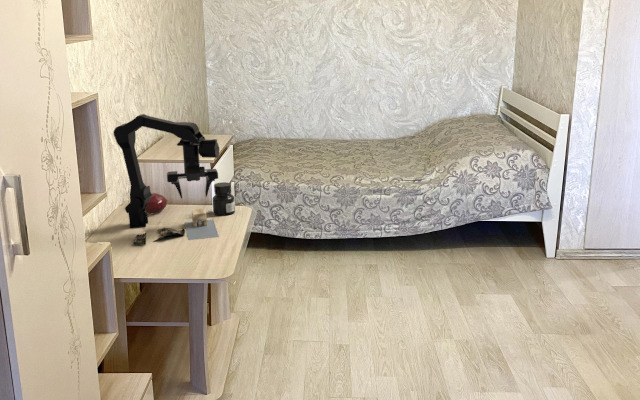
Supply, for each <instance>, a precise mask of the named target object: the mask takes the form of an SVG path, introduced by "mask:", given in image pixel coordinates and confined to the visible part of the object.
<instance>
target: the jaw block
mask: <svg viewBox="0 0 640 400" xmlns="http://www.w3.org/2000/svg"><path fill="white" fill-rule="evenodd" d="M191 218H192V222H193V226H194V227H197V221H199V220H202V221H203V224H204V226H207V220H208V219H207V212H206V208H199V209H198V208H197V209H191Z"/></svg>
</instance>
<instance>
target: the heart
mask: <svg viewBox="0 0 640 400" xmlns="http://www.w3.org/2000/svg"><path fill="white" fill-rule="evenodd" d="M151 194H152V196H151V200H150V202H149V203H148V204H147V207H145V211H146V212H147V214H151V215H157V214H159V213H161V212H162V211H163V210H164V209H165V208H166V207H167V204H168V199H167V198H166V197H165V196H164V195H163V194H160V193H157V192H153V193H151Z"/></svg>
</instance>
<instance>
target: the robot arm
mask: <svg viewBox="0 0 640 400" xmlns="http://www.w3.org/2000/svg"><path fill="white" fill-rule="evenodd" d="M142 128H148V129H153V130H157V131H160V132H164V133H168V134H172V135H174V136H175V137H177V138H179V139H180V141H178V143H177V144H176V146H177V147H179V146H180V147H181V146H182V153H183V154H182V155H183V157H182V158H183V168H184V170H183V171H184V173H183V172H182V173H178V171H177V170H175V171H167V173H166V180H167V183H170V184H171V185H174V186H175V189H177V192H178V194H179V196H180V199H183V193H182V188H181V184H180V183H181V182H180V179H186V181H187V182H193V181H196V182H198V181H200V180H201V178H205V190H204V193H205V197H208V194H209V190H210V187H211V185H212V183H213V182H215V180H218V179H219V173H218V169H217V168H207V169H205V166H200V157H202V158H208V159H209V158H210V159H212V158H214V159H218V158H219V157H220V146H219V143H218V139H217V138H215V139H214V138H213V139H206V138H205V136H204V134H202V132H201V131H200V128H199V126H198V125H197V124H196V123H195V122H191V121H189V122H186V121H182V122H181V121H180V122H179V121H172V120H169V119H168V120H167V119H163V118H159V117H154V116H151V115H147V114H145V113H140V114H139V115H137V116H136V117H134V118H133V119H132V120H130V121H129V122H126V123H123V124H120V125H117V126H116V127H115V128H114V130H113V137H114V139H115V141H116V144H117V145H118V147H120V149H121V151H122V154H123V159H124V162H125V166H126V167H125V168H126V171H127V177H128V178H129V183H130V191H129V201H130V202H129V203H128V204H127V205H126V206H125V207H124V210H125V212H126V213H127V214H128V219H129V221H128V223H129V229H133V228H134V229H135V228H146V227H147V225H148V224H149V218H148V217H149V216H148V213H147V212H146V210H145V207H147V204H148V203H149V202H150V200H151V196H152V194H153V193H152V192H151V187H150V185H146V184H145V183H144V180H143V176H142V172H141V167H140V164H139V160H138V155H137V152H136V139H137V137H136V131H138V130H139V129H142Z"/></svg>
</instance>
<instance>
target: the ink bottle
mask: <svg viewBox="0 0 640 400" xmlns="http://www.w3.org/2000/svg"><path fill="white" fill-rule="evenodd" d="M213 190H214V196H213V197H212V209H213V214H214V215H216V216H230V215H233V214H235V212H236V205H235V204H236V203H235V196H234V195H233V194H232V183H230V182H226V181H225V182H223V181H222V182H216V183H214V185H213Z"/></svg>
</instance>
